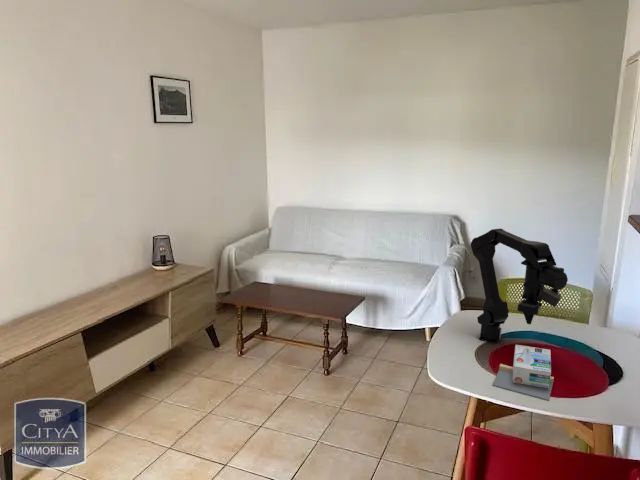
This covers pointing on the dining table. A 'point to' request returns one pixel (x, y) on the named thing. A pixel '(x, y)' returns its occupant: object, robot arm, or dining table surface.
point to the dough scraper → (506, 382)
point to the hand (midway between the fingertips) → (529, 323)
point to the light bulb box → (532, 366)
